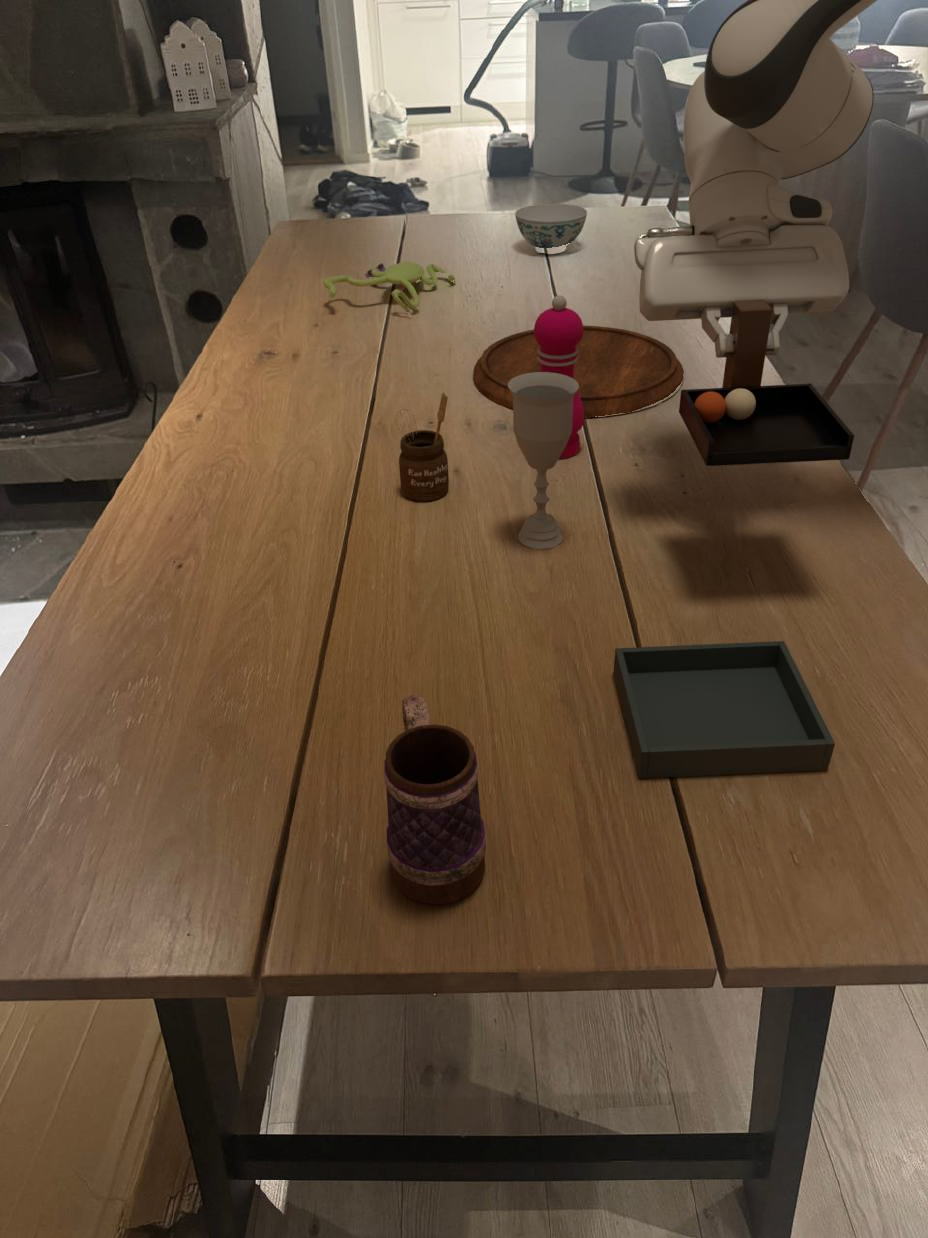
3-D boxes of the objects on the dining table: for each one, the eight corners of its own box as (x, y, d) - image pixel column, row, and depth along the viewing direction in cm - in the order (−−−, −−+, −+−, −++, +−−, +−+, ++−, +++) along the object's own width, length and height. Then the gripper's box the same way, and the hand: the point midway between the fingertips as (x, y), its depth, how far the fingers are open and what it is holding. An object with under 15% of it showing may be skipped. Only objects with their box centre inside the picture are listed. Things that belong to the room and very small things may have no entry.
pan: (797, 393, 96) (815, 296, 90) (849, 459, 84) (873, 352, 78) (672, 400, 96) (682, 303, 90) (706, 466, 84) (719, 360, 78)
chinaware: (550, 237, 207) (551, 199, 202) (600, 249, 198) (602, 210, 193) (500, 250, 200) (500, 212, 195) (549, 264, 190) (550, 224, 186)
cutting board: (446, 406, 134) (445, 390, 133) (504, 332, 159) (503, 317, 157) (669, 427, 126) (671, 410, 125) (694, 345, 150) (695, 330, 149)
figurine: (314, 314, 170) (310, 282, 167) (380, 272, 190) (378, 243, 186) (404, 324, 164) (402, 292, 161) (463, 280, 183) (462, 250, 180)
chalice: (582, 530, 105) (590, 379, 95) (556, 559, 101) (561, 403, 90) (525, 515, 108) (526, 367, 98) (497, 543, 104) (495, 390, 93)
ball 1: (734, 395, 89) (705, 386, 91) (724, 397, 87) (694, 388, 88) (724, 425, 91) (696, 416, 92) (713, 428, 88) (685, 419, 90)
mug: (496, 898, 66) (493, 779, 58) (396, 917, 65) (381, 798, 57) (468, 793, 74) (462, 678, 67) (379, 808, 73) (364, 692, 66)
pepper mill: (554, 466, 118) (558, 309, 106) (516, 448, 123) (516, 295, 111) (594, 449, 122) (602, 295, 110) (556, 431, 126) (560, 282, 114)
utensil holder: (394, 485, 116) (386, 394, 108) (442, 475, 117) (437, 385, 110) (409, 506, 111) (402, 413, 104) (458, 496, 113) (454, 403, 106)
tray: (778, 666, 85) (784, 640, 83) (827, 770, 74) (835, 743, 73) (613, 673, 85) (615, 648, 83) (638, 779, 74) (641, 752, 73)
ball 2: (737, 376, 89) (724, 396, 92) (727, 397, 88) (714, 416, 91) (765, 391, 89) (751, 410, 92) (755, 412, 88) (741, 431, 90)
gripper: (638, 211, 90) (648, 344, 88) (847, 201, 90) (863, 334, 88) (627, 246, 97) (637, 372, 95) (823, 237, 97) (837, 362, 94)
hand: (748, 354), depth 91 cm, fingers closed on pan, 3 cm apart
